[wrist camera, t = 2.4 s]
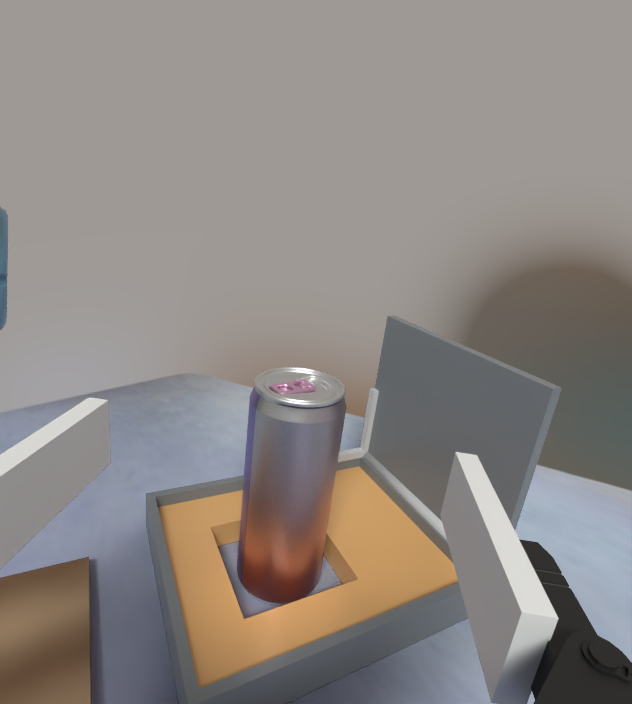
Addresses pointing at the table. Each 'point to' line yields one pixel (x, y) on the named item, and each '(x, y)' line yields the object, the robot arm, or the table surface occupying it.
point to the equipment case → (352, 530)
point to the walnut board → (46, 635)
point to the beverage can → (288, 481)
